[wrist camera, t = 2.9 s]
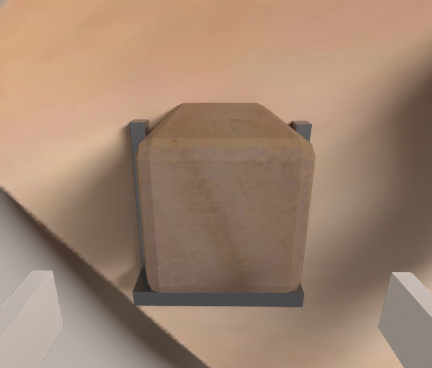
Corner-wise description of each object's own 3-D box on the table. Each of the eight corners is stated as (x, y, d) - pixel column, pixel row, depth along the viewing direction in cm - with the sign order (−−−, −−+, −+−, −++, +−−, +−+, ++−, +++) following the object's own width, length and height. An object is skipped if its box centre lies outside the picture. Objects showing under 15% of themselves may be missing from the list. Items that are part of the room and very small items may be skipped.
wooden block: (265, 102, 35) (323, 142, 16) (260, 186, 38) (304, 299, 19) (175, 102, 35) (128, 142, 16) (179, 186, 38) (144, 299, 19)
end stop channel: (132, 119, 35) (116, 129, 30) (308, 121, 35) (325, 131, 30) (145, 274, 43) (134, 305, 37) (290, 275, 43) (302, 306, 37)
